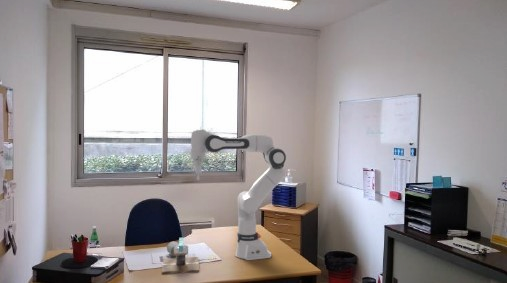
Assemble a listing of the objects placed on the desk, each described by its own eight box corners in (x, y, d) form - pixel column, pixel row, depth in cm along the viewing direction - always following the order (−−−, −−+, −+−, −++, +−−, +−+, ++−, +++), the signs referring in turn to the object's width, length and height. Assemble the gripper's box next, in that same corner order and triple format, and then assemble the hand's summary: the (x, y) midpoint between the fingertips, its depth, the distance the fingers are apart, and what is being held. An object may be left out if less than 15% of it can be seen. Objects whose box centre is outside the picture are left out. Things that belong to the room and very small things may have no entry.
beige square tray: (198, 258, 222) (198, 247, 221) (199, 272, 202) (199, 259, 202) (163, 260, 218) (164, 248, 218) (161, 273, 198) (161, 261, 198)
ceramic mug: (170, 258, 222) (171, 245, 221) (166, 254, 229) (166, 241, 228) (187, 255, 227) (187, 243, 227) (182, 251, 234) (183, 239, 234)
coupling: (188, 248, 218) (188, 237, 217) (188, 257, 203) (188, 245, 203) (174, 249, 216) (174, 238, 216) (173, 258, 202) (173, 246, 201)
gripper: (204, 157, 212) (203, 181, 213) (202, 154, 232) (202, 176, 233) (193, 157, 211) (192, 181, 212) (192, 154, 231) (192, 176, 232)
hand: (197, 178), depth 222 cm, fingers open, 8 cm apart
